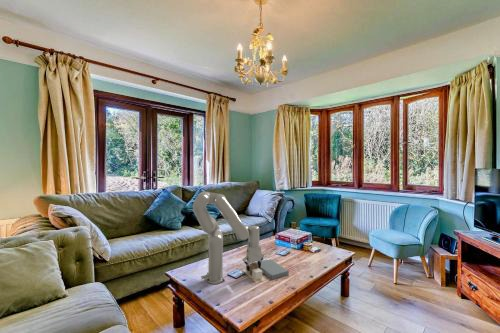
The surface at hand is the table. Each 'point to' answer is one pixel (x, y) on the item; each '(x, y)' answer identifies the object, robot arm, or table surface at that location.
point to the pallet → (252, 266)
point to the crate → (257, 274)
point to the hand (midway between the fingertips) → (253, 269)
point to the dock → (273, 269)
